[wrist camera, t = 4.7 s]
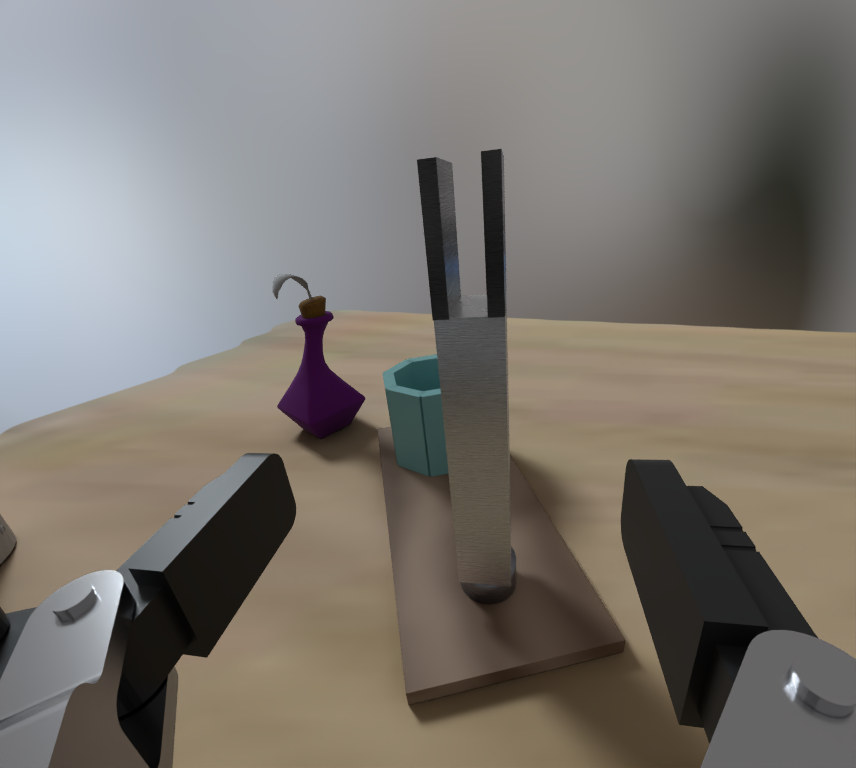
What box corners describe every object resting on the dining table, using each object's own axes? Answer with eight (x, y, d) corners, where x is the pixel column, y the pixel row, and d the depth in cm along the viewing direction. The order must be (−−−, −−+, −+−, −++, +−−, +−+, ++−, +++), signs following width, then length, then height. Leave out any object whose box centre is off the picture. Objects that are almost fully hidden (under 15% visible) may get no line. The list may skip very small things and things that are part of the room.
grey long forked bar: (456, 607, 25) (408, 160, 15) (463, 550, 29) (430, 165, 19) (516, 613, 24) (510, 147, 14) (516, 554, 28) (510, 155, 18)
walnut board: (408, 704, 21) (406, 693, 21) (378, 436, 46) (377, 429, 45) (623, 651, 23) (625, 640, 22) (483, 418, 47) (482, 411, 47)
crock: (400, 482, 36) (387, 402, 33) (391, 431, 45) (380, 363, 41) (498, 464, 37) (495, 384, 34) (472, 417, 45) (468, 349, 42)
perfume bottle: (335, 405, 54) (304, 265, 46) (370, 422, 49) (342, 267, 41) (283, 430, 49) (239, 278, 42) (316, 451, 44) (273, 283, 37)
